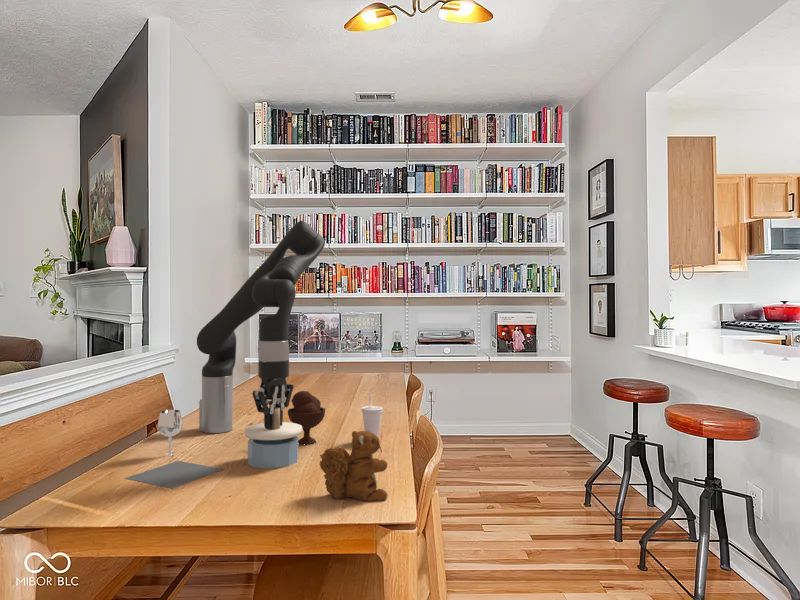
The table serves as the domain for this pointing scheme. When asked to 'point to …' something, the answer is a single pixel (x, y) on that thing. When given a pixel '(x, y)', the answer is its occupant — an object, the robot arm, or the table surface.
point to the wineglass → (170, 425)
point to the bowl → (272, 453)
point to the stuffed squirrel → (354, 469)
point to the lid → (274, 429)
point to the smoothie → (372, 418)
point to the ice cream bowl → (306, 414)
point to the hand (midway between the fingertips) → (273, 426)
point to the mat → (174, 474)
